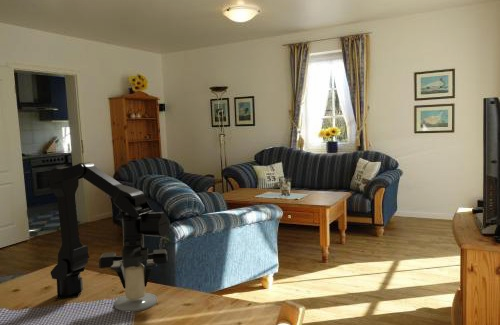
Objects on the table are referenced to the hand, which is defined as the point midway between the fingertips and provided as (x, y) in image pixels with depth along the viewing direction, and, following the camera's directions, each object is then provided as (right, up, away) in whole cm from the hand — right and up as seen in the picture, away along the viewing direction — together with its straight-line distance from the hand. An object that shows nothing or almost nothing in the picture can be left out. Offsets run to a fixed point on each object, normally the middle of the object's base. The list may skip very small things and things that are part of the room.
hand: (135, 287), depth 118 cm
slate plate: (0, -5, 0) cm, 5 cm away
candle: (0, -3, 0) cm, 3 cm away
